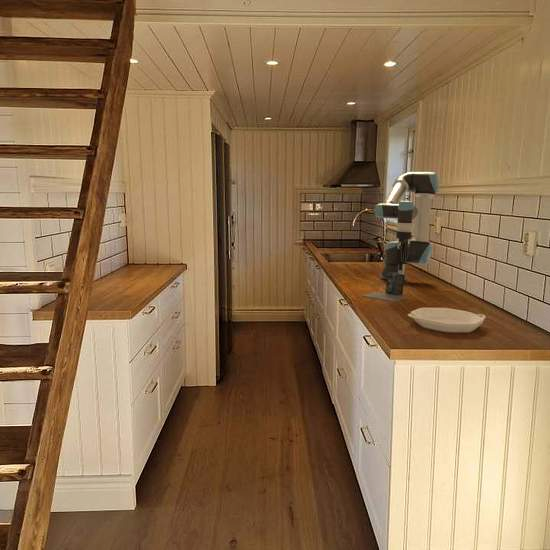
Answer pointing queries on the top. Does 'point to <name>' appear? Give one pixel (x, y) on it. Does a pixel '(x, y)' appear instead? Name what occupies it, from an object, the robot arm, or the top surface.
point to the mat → (385, 296)
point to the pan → (447, 319)
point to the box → (394, 283)
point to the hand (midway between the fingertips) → (400, 276)
